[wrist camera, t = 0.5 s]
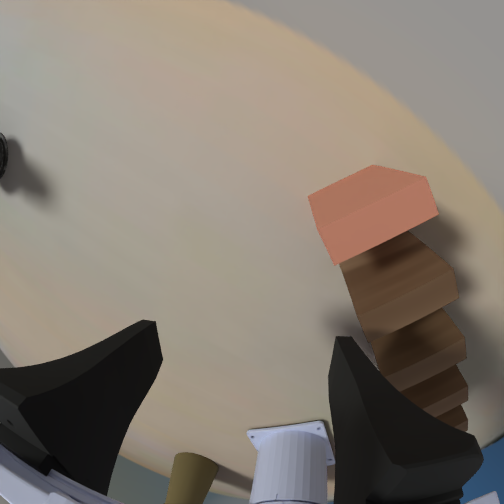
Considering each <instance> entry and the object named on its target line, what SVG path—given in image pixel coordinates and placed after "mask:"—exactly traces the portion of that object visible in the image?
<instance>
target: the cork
mask: <svg viewBox="0 0 504 504" xmlns="http://www.w3.org/2000/svg"><path fill="white" fill-rule="evenodd" d="M217 472H218V466H217V465H216V464H215V463H214V462H213V461H211V460H210V459H208V458H206V457H203V456H201V455H197V454H194V453H187V452H185V453H178V454H176V456H175V459H174V463H173V468H172V473H171V477H170V482H169V488H168V492H167V497H166V502H165V504H202V503H203V501H204V499H205V497H206V495H207V493H208V491H209V489H210V487H211V485H212V482H213V480H214V478H215V476H216V474H217Z"/></svg>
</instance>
